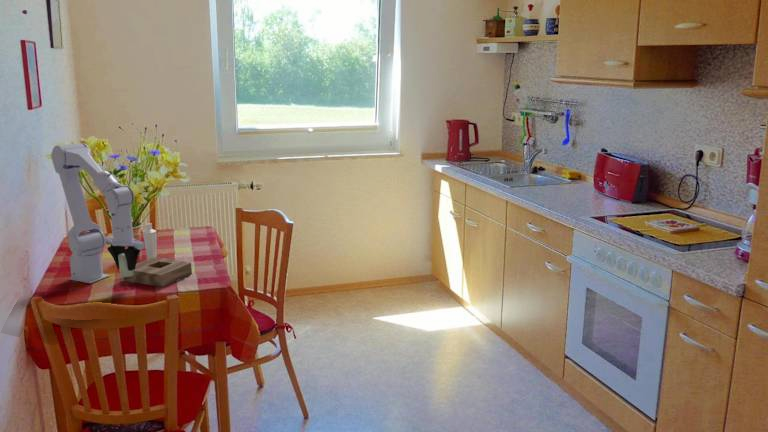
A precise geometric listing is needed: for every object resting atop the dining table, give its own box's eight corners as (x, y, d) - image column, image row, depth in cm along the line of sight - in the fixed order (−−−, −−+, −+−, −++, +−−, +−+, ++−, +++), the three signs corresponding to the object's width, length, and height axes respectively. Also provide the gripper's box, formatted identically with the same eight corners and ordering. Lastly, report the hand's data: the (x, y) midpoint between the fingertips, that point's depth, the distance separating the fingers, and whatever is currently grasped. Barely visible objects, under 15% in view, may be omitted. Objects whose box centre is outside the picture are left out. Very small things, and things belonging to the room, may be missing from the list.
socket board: (123, 280, 208) (122, 268, 207) (154, 267, 220) (153, 256, 219) (162, 287, 201) (161, 275, 200) (191, 273, 214) (191, 262, 213)
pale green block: (117, 275, 197) (115, 255, 195) (126, 272, 200) (125, 252, 199) (126, 277, 195) (125, 257, 194) (136, 273, 199) (134, 253, 197)
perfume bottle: (160, 263, 225) (157, 221, 222) (157, 267, 221) (153, 225, 217) (147, 263, 225) (144, 222, 221) (143, 267, 221) (139, 225, 217)
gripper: (94, 226, 193) (98, 269, 197) (130, 232, 188) (134, 275, 191) (112, 221, 200) (116, 262, 203) (147, 226, 194) (151, 269, 197)
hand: (126, 268), depth 197 cm, fingers closed on pale green block, 4 cm apart
